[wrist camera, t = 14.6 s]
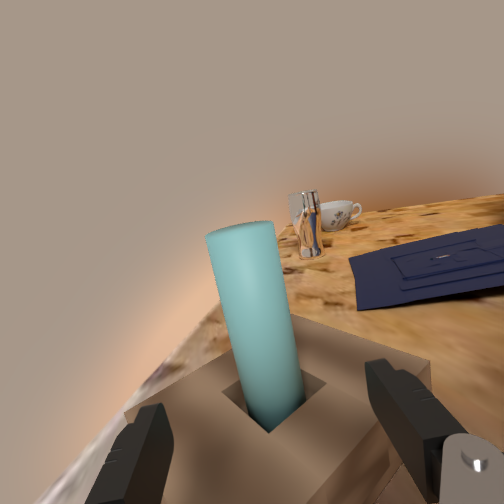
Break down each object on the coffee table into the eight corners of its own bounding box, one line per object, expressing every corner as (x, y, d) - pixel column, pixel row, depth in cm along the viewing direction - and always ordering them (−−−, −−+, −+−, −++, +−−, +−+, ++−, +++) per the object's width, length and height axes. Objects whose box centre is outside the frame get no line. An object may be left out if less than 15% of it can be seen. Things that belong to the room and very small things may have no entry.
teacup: (314, 236, 88) (310, 210, 86) (314, 228, 99) (310, 205, 97) (366, 228, 84) (364, 201, 82) (360, 221, 96) (357, 196, 94)
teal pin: (283, 401, 25) (246, 221, 21) (324, 430, 22) (287, 220, 18) (243, 434, 23) (192, 237, 19) (281, 472, 19) (229, 239, 16)
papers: (665, 284, 30) (664, 251, 29) (362, 329, 40) (355, 305, 39) (522, 232, 52) (520, 213, 52) (351, 269, 62) (347, 253, 61)
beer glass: (318, 261, 64) (308, 192, 61) (291, 260, 69) (280, 196, 65) (332, 251, 69) (323, 187, 66) (306, 251, 74) (297, 191, 70)
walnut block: (298, 353, 33) (291, 313, 32) (433, 418, 22) (429, 360, 21) (142, 464, 23) (123, 412, 22) (244, 687, 12) (217, 605, 11)
